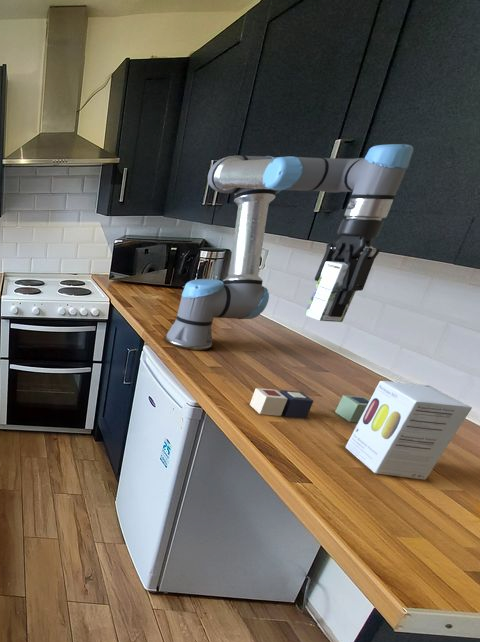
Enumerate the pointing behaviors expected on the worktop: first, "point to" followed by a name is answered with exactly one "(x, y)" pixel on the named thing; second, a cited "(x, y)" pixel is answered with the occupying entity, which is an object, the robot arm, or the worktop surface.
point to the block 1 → (268, 401)
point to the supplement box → (406, 429)
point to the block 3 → (352, 407)
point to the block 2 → (296, 404)
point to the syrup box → (328, 292)
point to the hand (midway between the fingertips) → (325, 312)
